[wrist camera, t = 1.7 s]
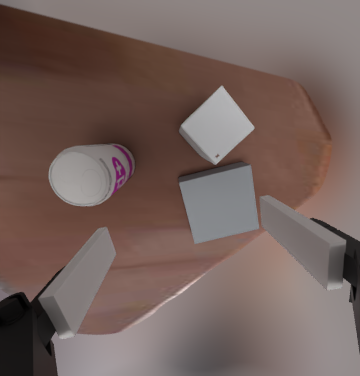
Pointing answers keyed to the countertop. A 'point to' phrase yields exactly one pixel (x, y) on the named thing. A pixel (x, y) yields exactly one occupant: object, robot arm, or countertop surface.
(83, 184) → the supplement can
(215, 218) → the slate riser block
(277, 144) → the countertop surface
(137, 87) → the countertop surface
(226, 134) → the supplement box
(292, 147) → the countertop surface
